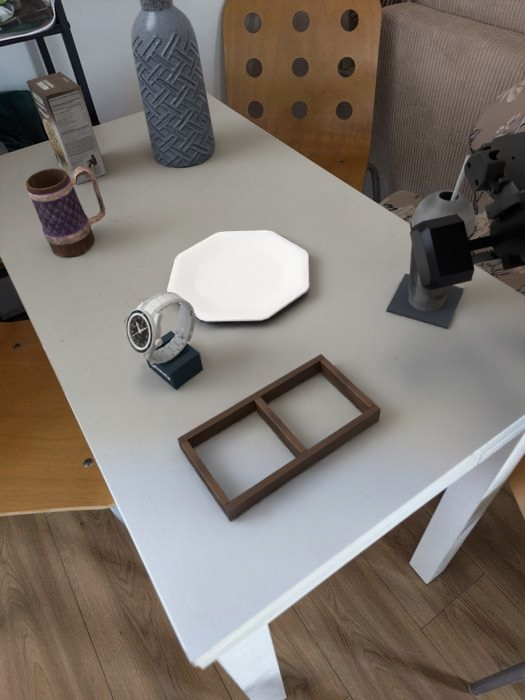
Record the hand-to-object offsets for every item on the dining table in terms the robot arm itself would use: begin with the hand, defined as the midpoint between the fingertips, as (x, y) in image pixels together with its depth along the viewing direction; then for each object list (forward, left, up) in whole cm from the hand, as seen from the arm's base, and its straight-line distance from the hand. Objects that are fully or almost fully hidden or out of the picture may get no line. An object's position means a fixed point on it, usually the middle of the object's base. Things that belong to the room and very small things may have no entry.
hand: (466, 251), depth 56 cm
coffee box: (+73, -14, -12) cm, 75 cm away
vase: (+58, -27, -12) cm, 65 cm away
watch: (+28, +20, -12) cm, 36 cm away
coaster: (+4, -4, -12) cm, 13 cm away
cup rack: (+12, +23, -12) cm, 28 cm away
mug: (+57, +4, -12) cm, 58 cm away
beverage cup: (+4, -4, -12) cm, 13 cm away
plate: (+29, +2, -12) cm, 31 cm away
